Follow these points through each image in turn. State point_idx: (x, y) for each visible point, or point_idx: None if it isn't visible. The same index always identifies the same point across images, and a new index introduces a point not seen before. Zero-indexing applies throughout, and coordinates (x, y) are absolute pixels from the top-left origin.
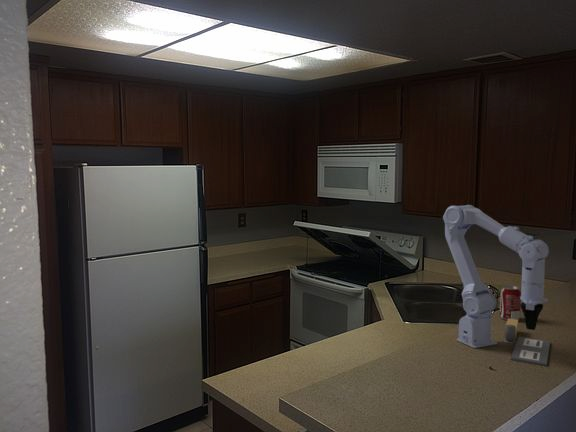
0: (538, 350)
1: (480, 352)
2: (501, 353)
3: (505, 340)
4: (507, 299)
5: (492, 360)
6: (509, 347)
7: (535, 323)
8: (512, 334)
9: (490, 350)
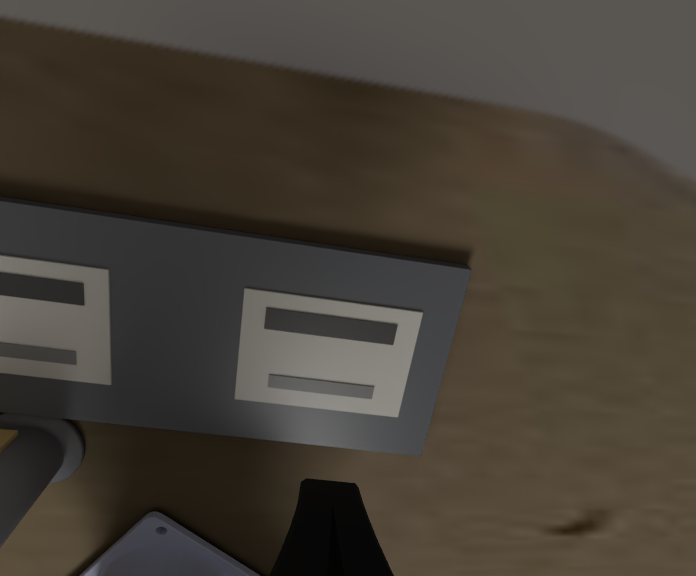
0: (183, 294)
1: None
2: None
3: None
4: None
5: (459, 523)
6: (174, 448)
7: (378, 554)
8: (25, 479)
9: None
